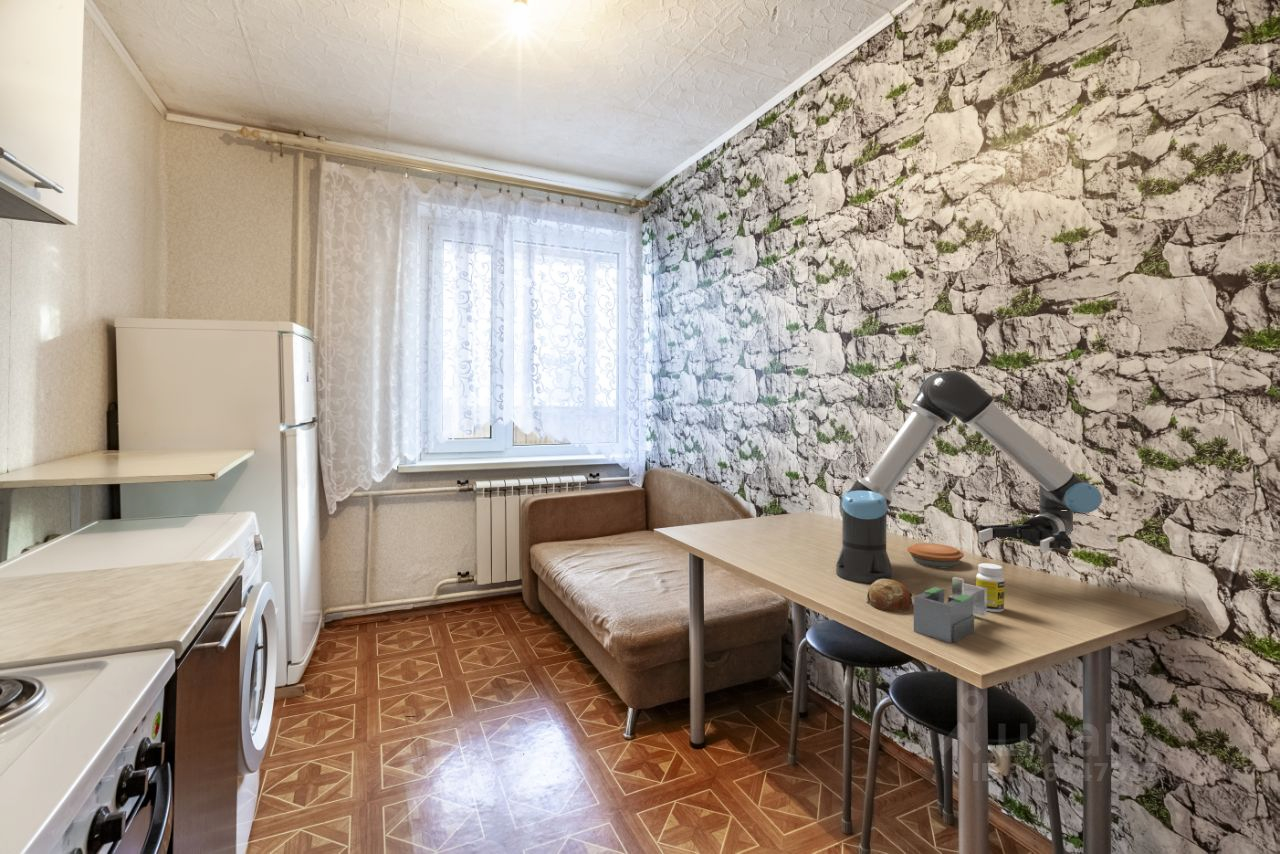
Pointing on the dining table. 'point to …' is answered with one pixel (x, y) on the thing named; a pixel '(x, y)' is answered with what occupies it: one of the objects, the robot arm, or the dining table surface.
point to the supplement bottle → (992, 585)
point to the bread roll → (889, 595)
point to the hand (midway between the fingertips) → (1009, 541)
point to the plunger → (970, 590)
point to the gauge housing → (943, 615)
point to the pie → (935, 554)
